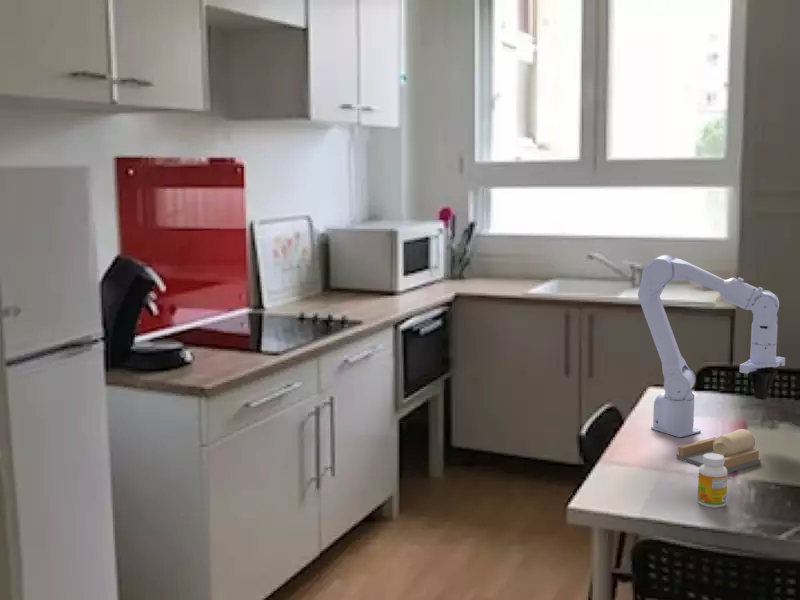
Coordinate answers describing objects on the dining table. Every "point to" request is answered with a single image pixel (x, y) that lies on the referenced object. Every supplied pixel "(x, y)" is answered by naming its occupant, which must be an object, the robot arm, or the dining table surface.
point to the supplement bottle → (712, 481)
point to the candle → (734, 443)
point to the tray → (700, 448)
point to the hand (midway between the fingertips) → (760, 398)
